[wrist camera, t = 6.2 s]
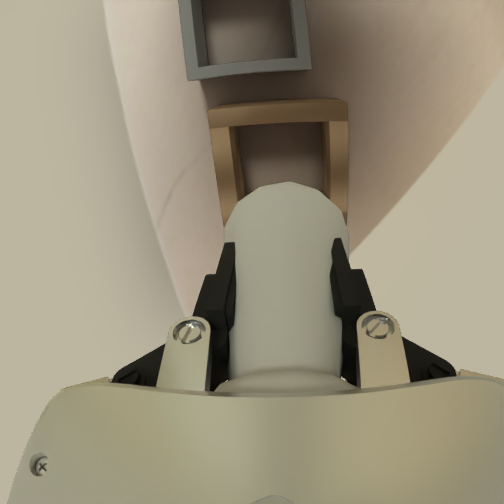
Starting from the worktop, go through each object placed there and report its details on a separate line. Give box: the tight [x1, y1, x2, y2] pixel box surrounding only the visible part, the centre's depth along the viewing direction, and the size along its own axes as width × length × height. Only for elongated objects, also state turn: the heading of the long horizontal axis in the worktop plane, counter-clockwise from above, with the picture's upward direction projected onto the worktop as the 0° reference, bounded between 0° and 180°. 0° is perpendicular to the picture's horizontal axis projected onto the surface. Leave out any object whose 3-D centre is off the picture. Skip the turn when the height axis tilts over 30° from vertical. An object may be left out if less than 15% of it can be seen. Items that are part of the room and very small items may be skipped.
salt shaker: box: [214, 181, 358, 393], centre depth 11 cm, size 6×6×13 cm
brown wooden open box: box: [207, 98, 349, 227], centre depth 26 cm, size 11×11×5 cm
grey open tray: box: [178, 0, 312, 81], centre depth 20 cm, size 10×10×4 cm
